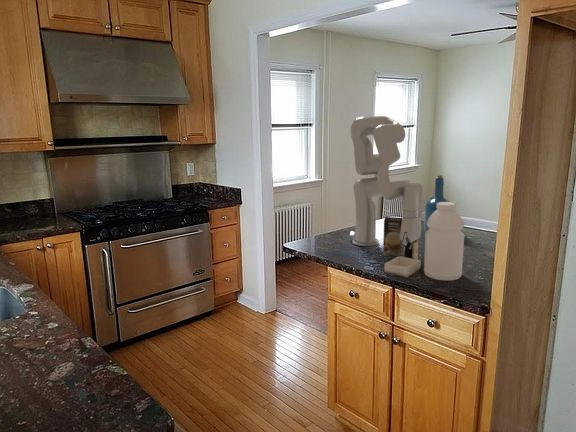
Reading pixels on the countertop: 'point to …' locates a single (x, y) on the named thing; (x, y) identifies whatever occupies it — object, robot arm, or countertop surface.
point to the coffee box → (392, 237)
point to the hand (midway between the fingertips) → (410, 255)
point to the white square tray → (402, 266)
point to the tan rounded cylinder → (415, 250)
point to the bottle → (444, 243)
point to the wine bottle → (434, 200)
